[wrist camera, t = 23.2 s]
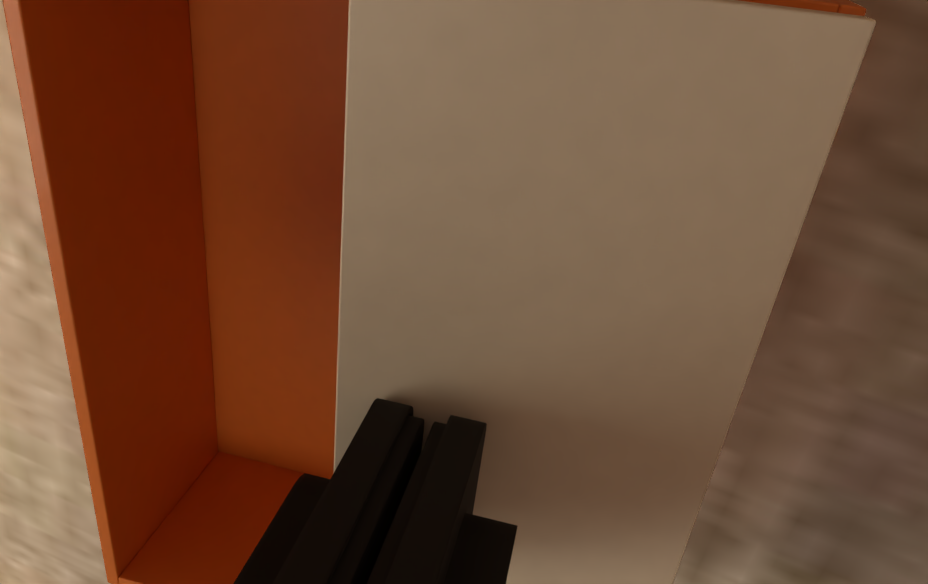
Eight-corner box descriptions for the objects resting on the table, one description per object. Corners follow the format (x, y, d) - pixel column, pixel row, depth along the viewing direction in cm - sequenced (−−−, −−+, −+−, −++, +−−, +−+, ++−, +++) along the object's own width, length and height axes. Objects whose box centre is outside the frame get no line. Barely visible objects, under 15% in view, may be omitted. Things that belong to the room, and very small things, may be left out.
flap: (354, -48, 8) (349, -46, 8) (867, 16, 8) (879, 19, 8) (328, 714, 15) (324, 730, 14) (607, 745, 15) (608, 760, 15)
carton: (175, -110, 14) (-21, -117, 10) (797, -26, 13) (868, 8, 8) (214, 449, 21) (107, 583, 17) (621, 552, 19) (612, 728, 15)
